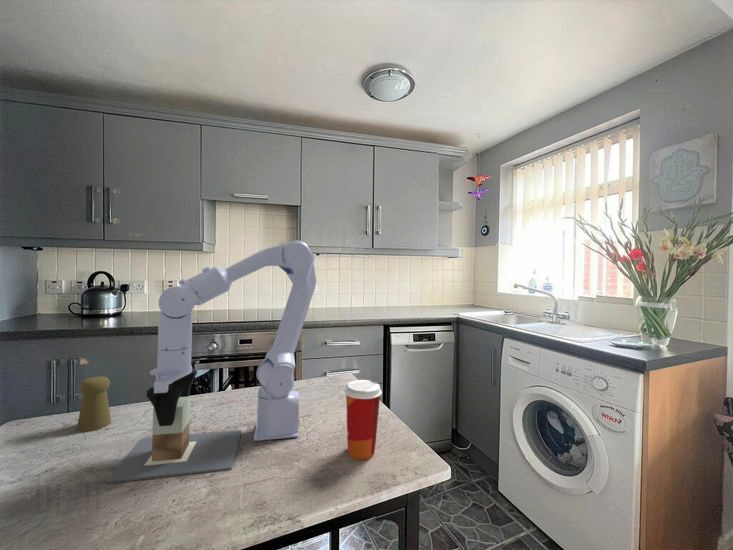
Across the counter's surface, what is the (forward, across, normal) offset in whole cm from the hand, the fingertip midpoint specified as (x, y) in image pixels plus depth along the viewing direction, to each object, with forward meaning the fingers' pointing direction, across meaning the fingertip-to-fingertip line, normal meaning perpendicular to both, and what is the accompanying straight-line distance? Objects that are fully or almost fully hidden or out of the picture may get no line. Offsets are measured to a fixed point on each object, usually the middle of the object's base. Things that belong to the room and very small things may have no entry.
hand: (173, 415), depth 63 cm
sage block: (+2, 0, 0) cm, 2 cm away
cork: (+8, -16, -21) cm, 28 cm away
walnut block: (+7, 0, 0) cm, 7 cm away
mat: (+8, 0, +2) cm, 8 cm away
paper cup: (+8, +6, +37) cm, 38 cm away
